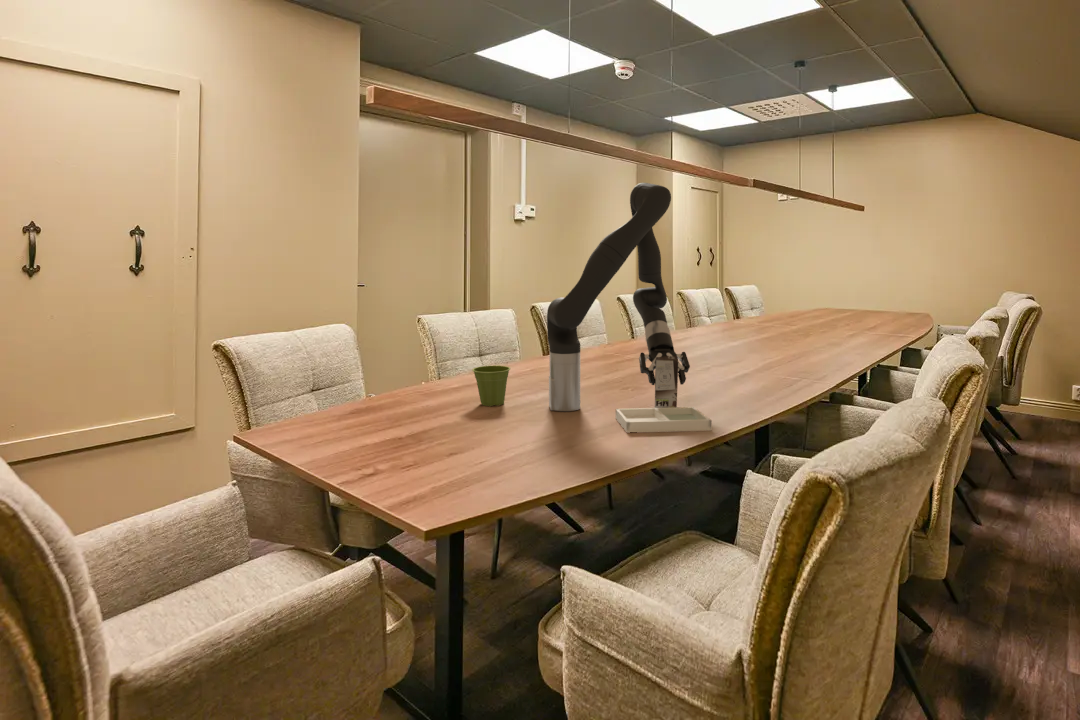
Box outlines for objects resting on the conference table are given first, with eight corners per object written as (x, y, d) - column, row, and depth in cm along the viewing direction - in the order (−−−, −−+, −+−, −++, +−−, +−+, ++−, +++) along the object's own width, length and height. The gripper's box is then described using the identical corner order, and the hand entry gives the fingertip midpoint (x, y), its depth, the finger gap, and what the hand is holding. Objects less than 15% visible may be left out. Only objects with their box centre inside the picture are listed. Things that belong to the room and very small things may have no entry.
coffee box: (676, 415, 176) (678, 360, 173) (654, 414, 177) (655, 359, 175) (676, 408, 185) (677, 355, 182) (654, 407, 186) (655, 354, 184)
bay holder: (626, 432, 159) (626, 422, 158) (615, 418, 173) (615, 408, 173) (711, 430, 161) (711, 420, 160) (693, 416, 175) (693, 406, 174)
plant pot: (478, 399, 199) (477, 365, 197) (514, 400, 197) (513, 365, 195) (468, 407, 187) (467, 371, 185) (507, 408, 186) (506, 372, 184)
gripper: (637, 331, 183) (646, 376, 174) (684, 331, 184) (695, 375, 175) (633, 346, 190) (641, 391, 180) (678, 346, 191) (689, 389, 181)
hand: (668, 383), depth 178 cm, fingers open, 8 cm apart
